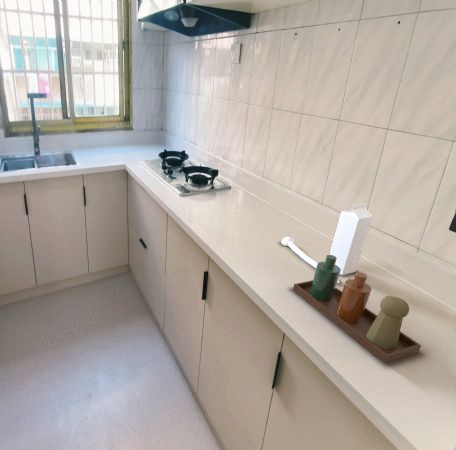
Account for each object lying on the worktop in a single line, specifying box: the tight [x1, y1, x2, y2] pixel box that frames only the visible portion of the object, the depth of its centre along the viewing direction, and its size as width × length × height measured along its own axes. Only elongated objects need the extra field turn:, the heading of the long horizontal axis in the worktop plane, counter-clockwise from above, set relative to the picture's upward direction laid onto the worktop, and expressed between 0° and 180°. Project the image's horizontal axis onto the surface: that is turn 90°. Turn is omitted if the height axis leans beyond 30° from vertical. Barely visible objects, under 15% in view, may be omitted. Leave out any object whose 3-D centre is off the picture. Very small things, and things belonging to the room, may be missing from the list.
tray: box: [292, 279, 422, 365], centre depth 84 cm, size 10×28×2 cm, turn 20°
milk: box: [329, 202, 374, 276], centre depth 102 cm, size 6×6×22 cm
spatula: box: [281, 236, 341, 284], centre depth 110 cm, size 28×4×3 cm, turn 15°
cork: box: [366, 295, 410, 350], centre depth 75 cm, size 6×6×11 cm
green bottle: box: [310, 254, 341, 302], centre depth 90 cm, size 6×6×12 cm
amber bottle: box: [336, 271, 372, 323], centre depth 82 cm, size 6×6×12 cm
